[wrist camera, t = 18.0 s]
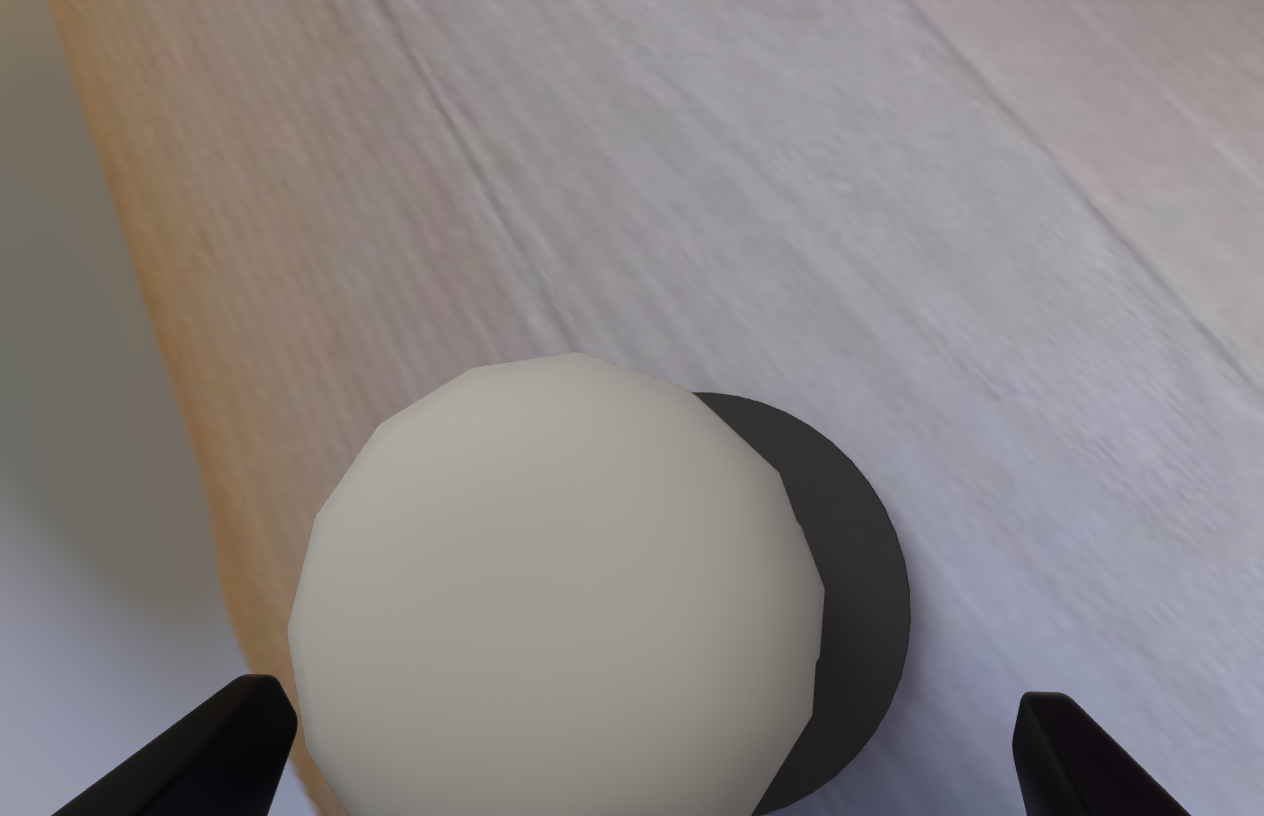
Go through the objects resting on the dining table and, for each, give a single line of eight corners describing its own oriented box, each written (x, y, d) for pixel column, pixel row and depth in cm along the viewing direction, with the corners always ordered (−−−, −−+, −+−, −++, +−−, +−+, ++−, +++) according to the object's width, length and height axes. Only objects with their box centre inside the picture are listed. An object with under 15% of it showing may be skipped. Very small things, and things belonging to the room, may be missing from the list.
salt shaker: (539, 669, 18) (-4, 841, 5) (623, 450, 19) (333, 156, 6) (771, 773, 16) (787, 1360, 4) (850, 529, 17) (1063, 352, 5)
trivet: (745, 914, 16) (744, 930, 15) (430, 630, 19) (416, 632, 18) (988, 549, 17) (998, 546, 16) (653, 331, 20) (649, 321, 19)
